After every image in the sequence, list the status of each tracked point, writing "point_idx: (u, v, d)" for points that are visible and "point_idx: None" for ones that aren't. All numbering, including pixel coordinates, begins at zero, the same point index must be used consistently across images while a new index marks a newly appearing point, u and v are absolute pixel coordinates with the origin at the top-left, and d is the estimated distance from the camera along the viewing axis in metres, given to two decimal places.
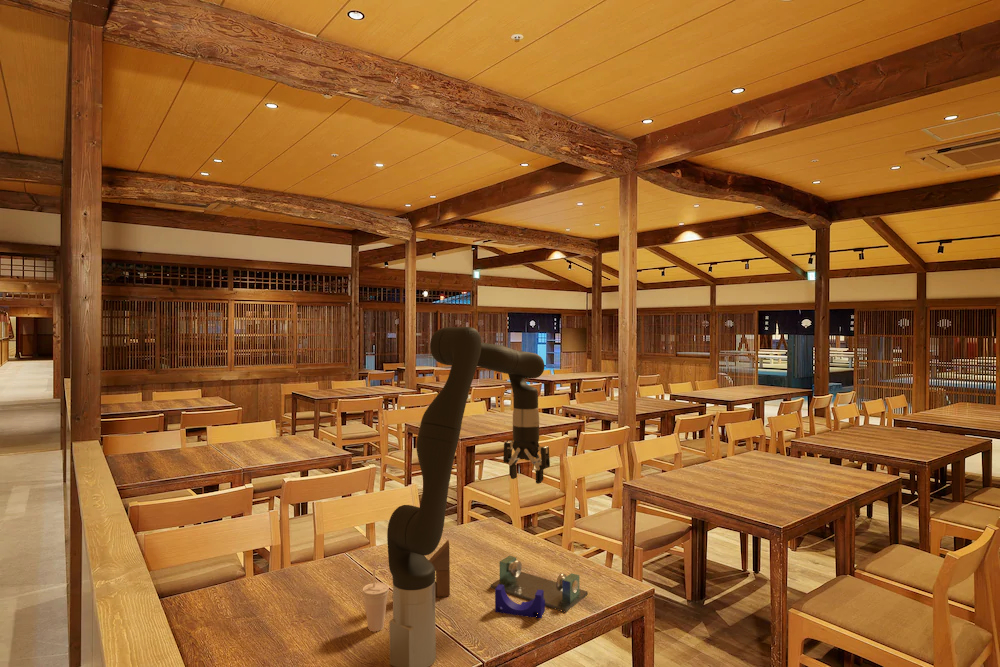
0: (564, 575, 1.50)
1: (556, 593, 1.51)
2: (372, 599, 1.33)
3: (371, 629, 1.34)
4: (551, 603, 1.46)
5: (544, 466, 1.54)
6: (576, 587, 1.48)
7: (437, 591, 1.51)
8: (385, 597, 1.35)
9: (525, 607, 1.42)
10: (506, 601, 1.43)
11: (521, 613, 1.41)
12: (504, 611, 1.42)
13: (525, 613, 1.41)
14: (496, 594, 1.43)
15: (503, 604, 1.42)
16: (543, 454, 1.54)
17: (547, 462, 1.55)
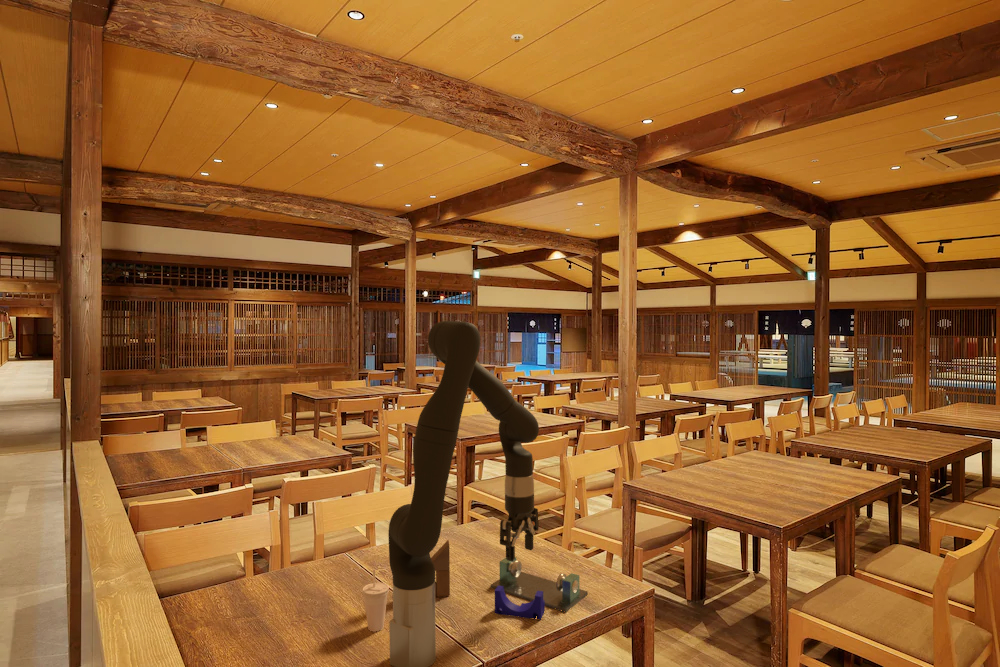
0: (564, 575, 1.50)
1: (556, 593, 1.51)
2: (372, 599, 1.33)
3: (371, 629, 1.34)
4: (551, 603, 1.46)
5: (538, 527, 1.48)
6: (576, 587, 1.48)
7: (437, 591, 1.51)
8: (385, 597, 1.35)
9: (524, 608, 1.42)
10: (506, 602, 1.42)
11: (521, 614, 1.40)
12: (504, 612, 1.42)
13: (525, 614, 1.40)
14: (496, 595, 1.42)
15: (503, 605, 1.42)
16: (537, 515, 1.48)
17: None
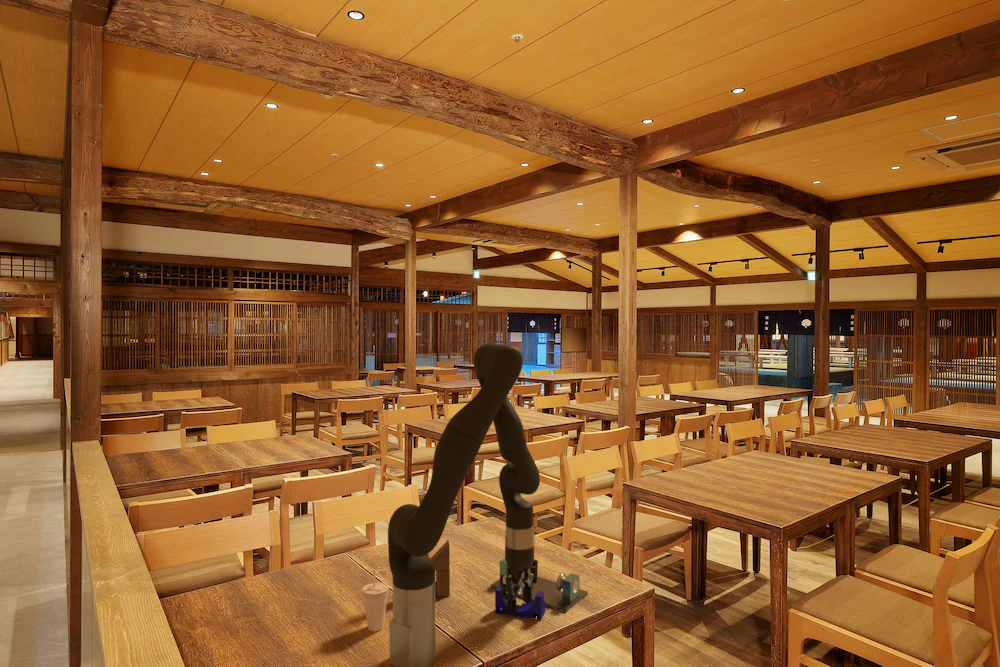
0: (564, 575, 1.50)
1: (556, 593, 1.51)
2: (372, 599, 1.33)
3: (371, 629, 1.34)
4: (551, 603, 1.46)
5: (536, 580, 1.47)
6: (576, 587, 1.48)
7: (437, 591, 1.51)
8: (385, 597, 1.35)
9: (525, 608, 1.42)
10: (506, 602, 1.42)
11: (521, 614, 1.40)
12: (504, 612, 1.42)
13: (525, 614, 1.40)
14: (496, 595, 1.42)
15: (503, 605, 1.42)
16: (536, 567, 1.48)
17: None
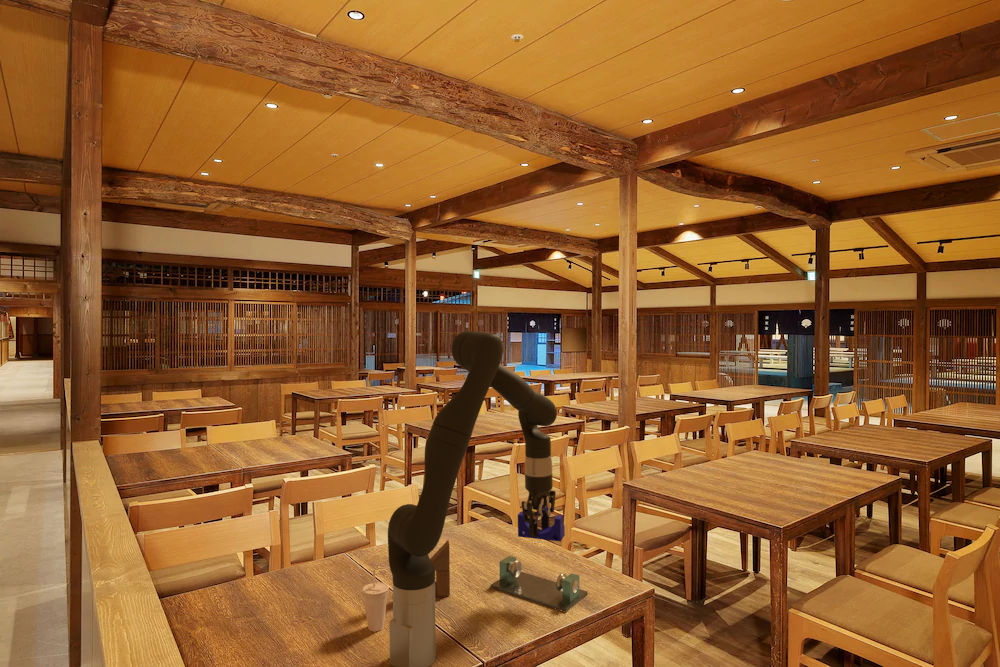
0: (564, 575, 1.50)
1: (556, 593, 1.51)
2: (372, 599, 1.33)
3: (371, 629, 1.34)
4: (551, 603, 1.46)
5: (553, 509, 1.58)
6: (576, 587, 1.48)
7: (437, 591, 1.51)
8: (385, 597, 1.35)
9: (545, 531, 1.52)
10: (528, 526, 1.53)
11: (542, 536, 1.51)
12: (526, 535, 1.53)
13: (546, 536, 1.51)
14: (518, 519, 1.54)
15: (525, 528, 1.53)
16: (554, 497, 1.58)
17: None
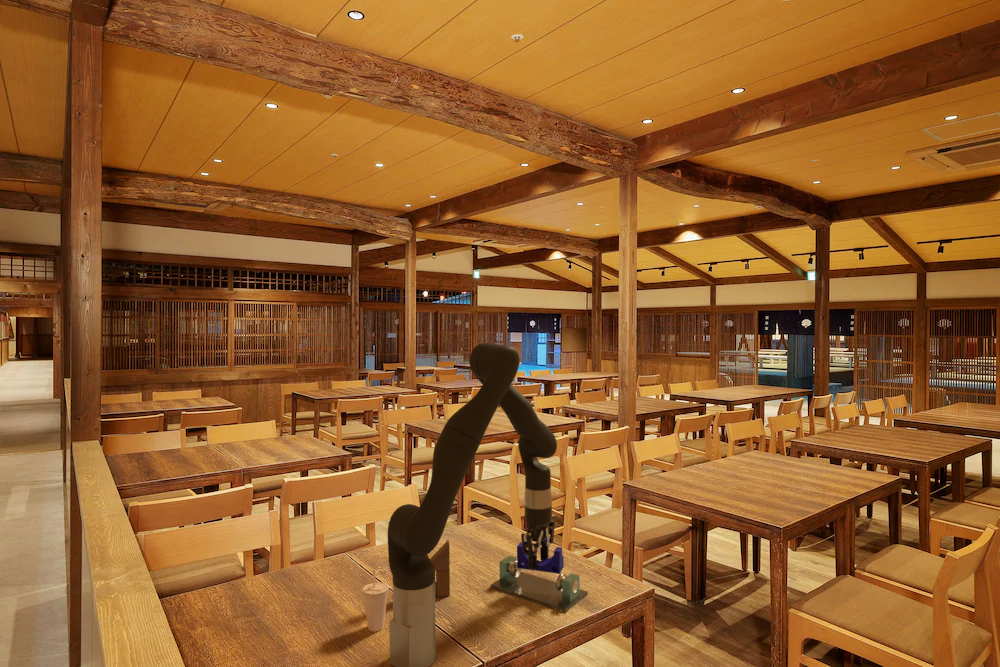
0: (564, 575, 1.50)
1: (556, 593, 1.51)
2: (372, 599, 1.33)
3: (371, 629, 1.34)
4: (551, 603, 1.46)
5: (552, 540, 1.58)
6: (576, 587, 1.48)
7: (437, 591, 1.51)
8: (385, 597, 1.35)
9: (544, 563, 1.53)
10: (527, 557, 1.54)
11: (541, 568, 1.52)
12: (525, 566, 1.53)
13: (545, 568, 1.51)
14: (518, 551, 1.54)
15: (524, 560, 1.53)
16: (553, 528, 1.58)
17: None
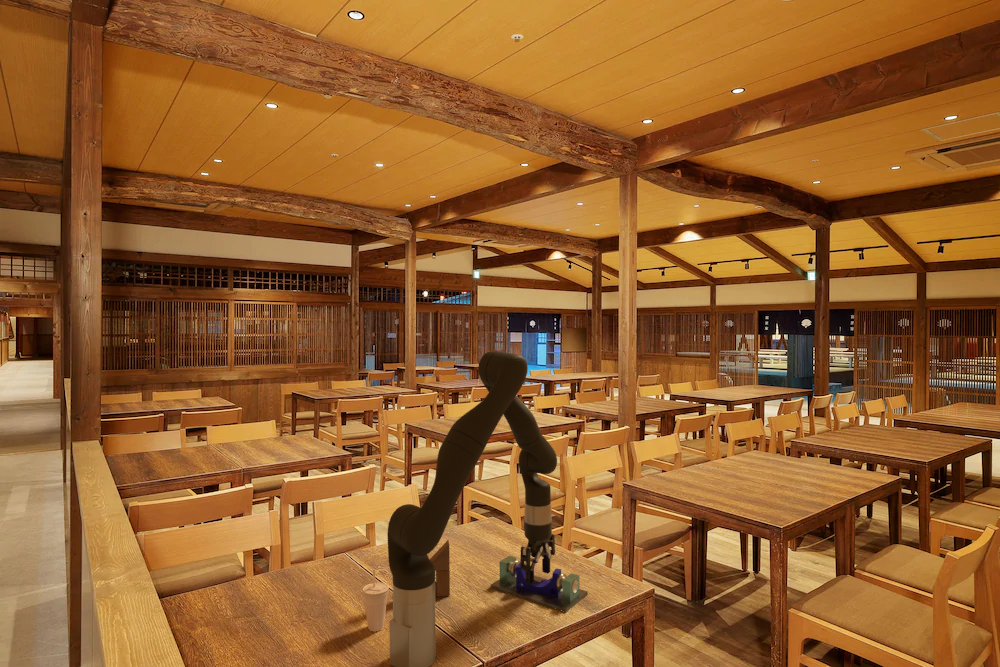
0: (564, 575, 1.50)
1: None
2: (372, 599, 1.33)
3: (371, 629, 1.34)
4: (551, 603, 1.46)
5: (554, 552, 1.59)
6: (576, 587, 1.48)
7: (437, 591, 1.51)
8: (385, 597, 1.35)
9: (543, 584, 1.53)
10: None
11: (540, 589, 1.52)
12: (524, 587, 1.53)
13: (543, 590, 1.51)
14: (517, 571, 1.54)
15: (523, 581, 1.53)
16: (553, 540, 1.59)
17: None
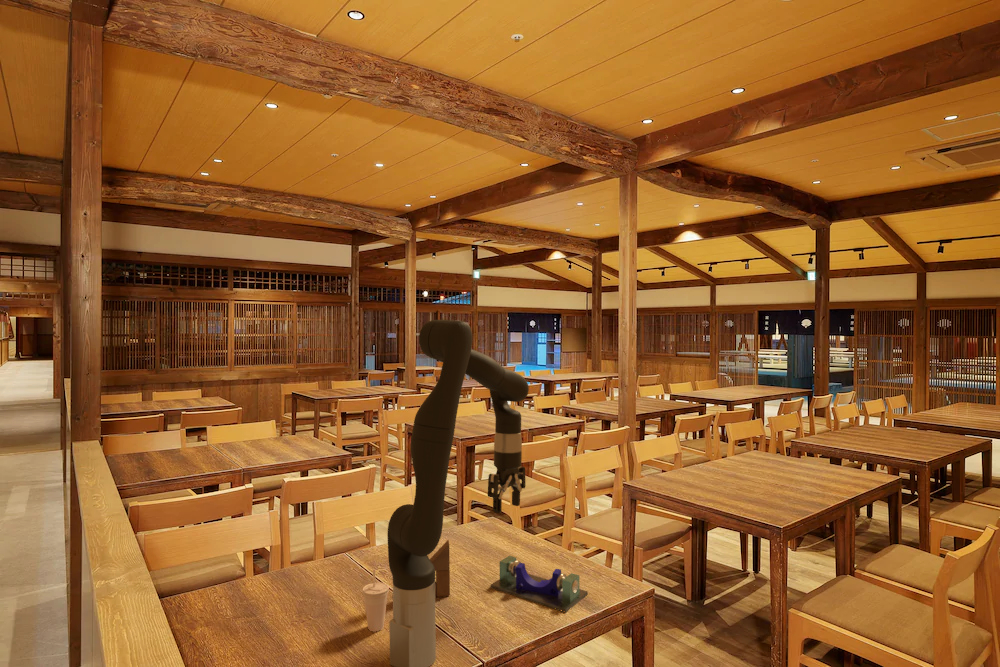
0: (564, 575, 1.50)
1: None
2: (372, 599, 1.33)
3: (371, 629, 1.34)
4: (551, 603, 1.46)
5: None
6: (576, 587, 1.48)
7: (437, 591, 1.51)
8: (385, 597, 1.35)
9: (543, 584, 1.53)
10: (526, 578, 1.54)
11: (540, 590, 1.51)
12: (524, 587, 1.53)
13: (543, 590, 1.51)
14: (517, 571, 1.54)
15: (523, 581, 1.53)
16: (524, 473, 1.56)
17: None
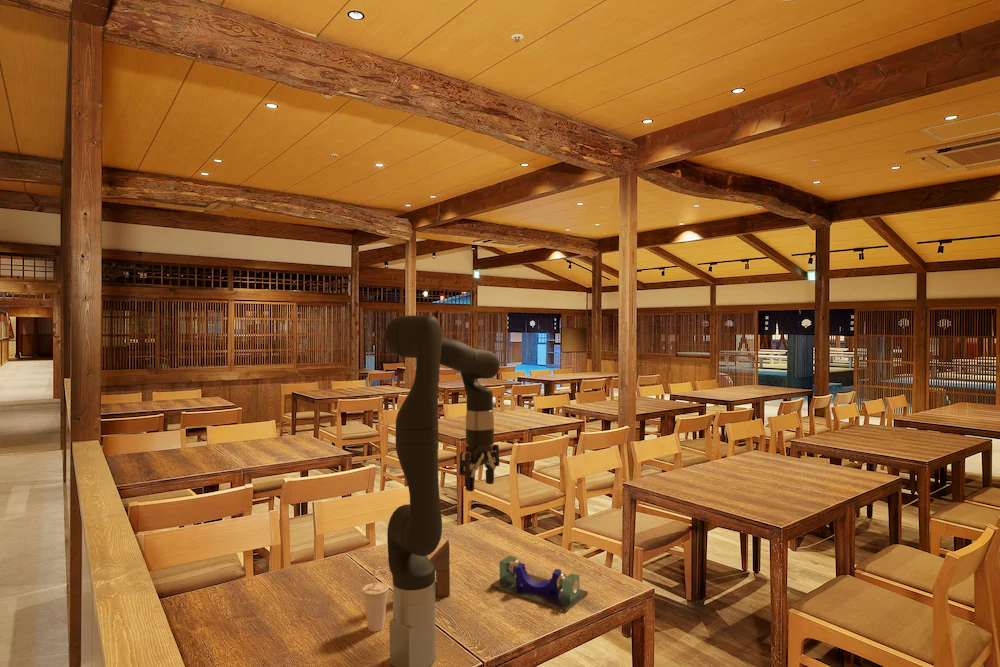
0: (564, 575, 1.50)
1: None
2: (372, 599, 1.33)
3: (371, 629, 1.34)
4: (551, 603, 1.46)
5: (498, 463, 1.54)
6: (576, 587, 1.48)
7: (437, 591, 1.51)
8: (385, 597, 1.35)
9: (543, 584, 1.52)
10: (526, 578, 1.54)
11: (539, 590, 1.51)
12: (524, 588, 1.53)
13: (543, 590, 1.51)
14: (517, 572, 1.54)
15: (523, 581, 1.53)
16: (497, 451, 1.54)
17: (492, 459, 1.55)
